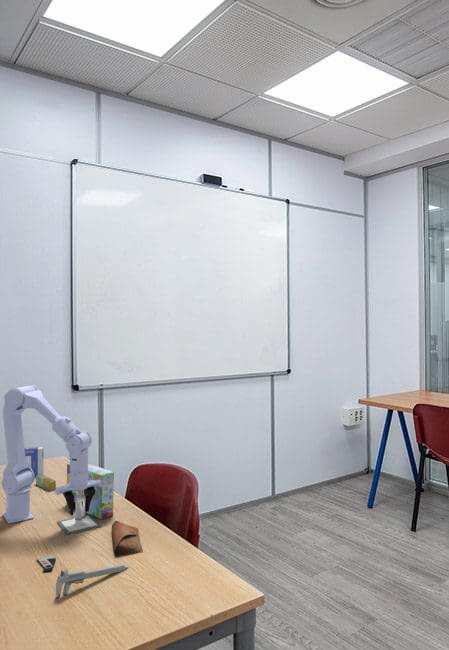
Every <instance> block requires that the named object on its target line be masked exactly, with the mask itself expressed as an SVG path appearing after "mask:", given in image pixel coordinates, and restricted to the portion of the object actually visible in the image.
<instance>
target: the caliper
mask: <svg viewBox="0 0 449 650" xmlns="http://www.w3.org/2000/svg"><path fill="white" fill-rule="evenodd" d="M129 568H130V567H129V566H127V565H125V564H116V565H113V566H107V567H102V568H97V569H92V570H87V571H85V570H77V571H72V572H71V571H70V572H69V570H68V569H65V570H62V569H61V570H60V574H58V575H57V578H56V583H55V596H56V597H57V598H61V594H62V595H63V596H68V593H69V591H70V589H71V585H72V584H75V585H78V584H83V583H84V580H87V579H92V578H98V577H101V576H108V575H113V574H116V573H120V572H124V571H125V570H127V569H129ZM62 589H63V590H62ZM62 591H63V592H62Z"/></svg>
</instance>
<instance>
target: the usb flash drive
mask: <svg viewBox="0 0 449 650" xmlns="http://www.w3.org/2000/svg"><path fill="white" fill-rule="evenodd" d="M56 559H57V555H49V556H48V558H47V557H45V556H41V557H37V558H36V561H39V563H40V564H41V565H42V566H43V570H42V573H52V572H53V570H54V567H55V565H56V561H57V560H56Z"/></svg>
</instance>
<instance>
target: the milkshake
mask: <svg viewBox="0 0 449 650" xmlns="http://www.w3.org/2000/svg"><path fill="white" fill-rule="evenodd" d="M87 494H88V493H87ZM86 497H87V495H86V496H85V495H82V494H81V495H80V494H78V495H75V496H74V505H73V506H74V515H73V518H74V524H75V525H82V524H84V523H85V515H86V513H85V511H86Z"/></svg>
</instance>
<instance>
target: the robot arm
mask: <svg viewBox="0 0 449 650" xmlns="http://www.w3.org/2000/svg"><path fill="white" fill-rule="evenodd" d="M3 397H4V405H3V407H2V417H3V420H2V421H3V427H4V435H5V436H4V437H5V445H6V447H5V448H6V455H7V465H6V467H5V468H4V469H3V471H2V480H1V487H2V490H3V492H4V493H5V512H2V516H3V517H4V519H5V521H6V522H7V524H12V523H17V522H22V521H28V520H32V519H34V516H33V514H32V513H31V488H32V484H33V483H34V481H35V480H36V477H35V476H34V472H33V471H32V468H31V464H30V463H29V462H27V461H26V458H25V449H24V448H25V442H24V441H25V440H24V432H23V431H24V430H23V423H22V414H23V413H24V412H25V410H26V409H34V410H35V411H36V412H38V413H39V414H40V415H41V416H42V417H44V418H45V419H46V420H47V421H48V422H50V423H51V428H52V431H53V432H55V433H56V434H57V436H59V438H60V439H61V440H62V441H64V443H65V449H66V450H67V452H68V457H69V463H70V483H69V484H67V483H66V484H63V485H61V486H56V487H55V490H54V491H55V495H56V496H59V495H61V494H62V495H63V497H64V499H65V502H66V505H67V504H68V505H67V507H68V511H69V515H71V516H74V506H73V505H74V495H73V493H72V491H78V490H83V489H84V495H85V496H86V495H87V497H86V512H88V511H89V507H90V503H91V500H92V498H93V496H94V494H95V491H96V490H95V489H94V487H102V481H101V480H100V479H99V480H89V481H88V464H89V447H90V446H91V445H92V437H91V435H90V434H89V432H87V431H85V430H81V428H78V427H77V426H76V425H75V423H73V422H72V419H71V418H70V417H67V416H65V415H63V416H61V415H60V414H59V413H58V412H57V410H55V409H54V407H53V406H52V404H50V403H49V401H47V399H46V398H45V397H44V395H43V392H42V391H41V390H39V389H38V387H37V386H36V385H34V384H27V385H25V386H21V387H12V388H10V389H9V390H8V391H7V392H6V393H5V394H4V396H3ZM87 493H88V494H87Z"/></svg>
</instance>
